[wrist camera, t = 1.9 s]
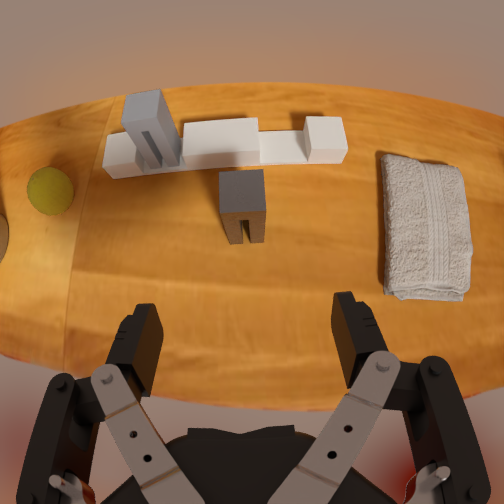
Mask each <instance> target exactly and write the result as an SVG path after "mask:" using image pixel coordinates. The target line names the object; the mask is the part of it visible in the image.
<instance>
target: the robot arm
mask: <svg viewBox="0 0 504 504" xmlns="http://www.w3.org/2000/svg"><path fill="white" fill-rule="evenodd" d="M8 233H9V232H8V225H7V221H6V219H5V217H4V216H3V215H2V214H0V262H1V260H2V258H3V256H4V254H5V251H6V248H7V243H8ZM331 328H332V333H333V336H334V340H335V344H336V347H337V351H338V355H339V359H340V362H341V366H342V370H343V374H344V378H345V382H346V386H347V389H349V388H351V389H350V391H349V392H348V394H345V395H344V397H343V398H342V400H341V401H340V403H339V405H338V406H337V408H336V410H335V411H334V413H333V414H332V416H331V418H330V419H329V421H328V422H327V424H326V425H325V427H324V428H323V430H322V431H321V433H320V434H319V436H318V437H317V438H315V437H313V436H311V435H308V434H306V433H301V432H295V429H294V425H287V426H273V427H266V428H262V429H258V430H255V431H251V432H247V433H243V434H236V433H232V432H227V431H222V430H218V429H213V428H208V429H207V428H188V434H187V435H184V436H181V437H178V438H176V439H173V440H172V441H170V442H168V443H167V444H166V443H165V442H164V441H163V439H162V438H161V436H160V435H159V433H158V431H157V430H156V428H155V427H154V425H153V424H152V422H151V420H150V419H149V417H148V416H147V414H146V412H145V411H144V409H143V407H142V406H141V404H140V401H141V397H150V394H151V390H152V385H153V381H154V376H155V372H156V368H157V363H158V359H159V355H160V351H161V347H162V343H163V327H162V324H161V322H160V319H159V316H158V313H157V310H156V307H155V305H154V304H153V303H148V304H137V305H136V308H135V310H134V313H133V315H127V317H126V318H125V319H124V320H123V321H122V322H121V324H120V326H119V329H118V333H117V334H116V336H115V340H114V342H113V344H112V347H111V349H110V352H109V355H108V358H107V360H106V363H105V365H102V366H100V367H98V368H97V369H96V370H95V371H94V372H93V374H92V376H91V377H87V378H82V379H77V380H75V379H74V378H73V377H72V376H71V375H70V374H68V373H60V374H58V375H56V376H55V377H53V378H52V380H51V381H50V382H49V385H48V387H47V390H46V393H45V396H44V398H43V401H42V404H41V407H40V410H39V413H38V416H37V420H36V423H35V425H34V429H33V432H32V435H31V439H30V442H29V445H28V449H27V453H26V456H25V460H24V464H23V468H22V472H21V476H20V480H19V485H18V489H17V495H16V502H17V504H96V500H95V493H94V491H93V489H92V488H91V487H90V486H89V485H88V484H89V477H90V472H91V465H92V460H93V454H94V449H95V444H96V439H97V434H98V429H99V425H100V422H103V421H106V424H107V426H108V428H109V430H110V432H111V434H112V436H113V438H114V440H115V442H116V444H117V446H118V448H119V450H120V451H121V454H122V455H123V457H124V459H125V461H126V463H127V465H128V466H129V468H130V470H131V471H132V473H133V475H132V476H131V477H130V478H128V479H127V480H126V481H125V482H124V483H123V484H122V485H121V486H120V487H119V488H117V489H116V490H115V491H114V492H113V493H112V494H110V495H109V496H108V497H107V498H106V499H105V500H104V501H102V502H101V503H100V504H397V503H396V502H395V501H394V500H393V499H392V498H391V497H390V496H388V495H387V494H386V493H384V492H383V491H382V490H381V489H379V488H378V487H377V486H375V485H374V484H373V483H372V482H370V481H369V480H368V479H366V478H365V477H364V476H363V475H361V474H360V473H359V472H358V471H357V470H355V469H354V468H353V467H352V464H353V463H354V461H355V459H356V457H357V456H358V454H359V452H360V450H361V449H362V447H363V445H364V443H365V441H366V440H367V438H368V435H369V434H370V432H371V430H372V428H373V426H374V424H375V422H376V420H377V418H378V416H379V414H380V412H381V410H382V409H389V410H400V411H402V413H403V417H404V421H405V425H406V429H407V433H408V437H409V442H410V446H411V450H412V454H413V459H414V465H415V469H416V475H415V476H413V477H412V478H411V479H410V481H409V482H408V484H407V486H406V497H405V500H404V502H403V504H486V503H487V502H488V500H489V498H490V494H491V487H490V482H489V478H488V475H487V471H486V467H485V464H484V460H483V457H482V454H481V450H480V447H479V444H478V441H477V438H476V435H475V432H474V429H473V426H472V423H471V420H470V417H469V414H468V412H467V409H466V406H465V403H464V401H463V398H462V395H461V393H460V390H459V388H458V385H457V383H456V380H455V378H454V375H453V373H452V371H451V368H450V366H449V364H448V363H447V362H446V361H445V360H444V359H443V358H441V357H438V356H428V357H426V358H424V359H423V360H422V361H421V363H420V364H417V363H407V362H402V361H399V359H398V358H397V357H396V356H395V355H394V354H393V353H391V352H389V351H388V348H387V346H386V344H385V341H384V339H383V336H382V334H381V331H380V329H379V327H378V326H377V322H376V320H375V318H374V315H373V313H372V310H371V308H370V307H369V306H368V305H366V304H365V303H364V302H363V301H362V302H356V301H355V298H354V296H353V294H352V292H351V291H347V292H336V293H334V297H333V306H332V314H331Z"/></svg>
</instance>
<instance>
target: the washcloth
mask: <svg viewBox="0 0 504 504" xmlns="http://www.w3.org/2000/svg"><path fill="white" fill-rule="evenodd" d="M380 160H381V167H382V174H381V175H382V178H383V181H382V184H383V192H384V194H383V195H384V196H383V197H384V199H383V201H384V205H383V208H384V222H385V231H386V234H385V245H386V251H385V252H386V253H385V258H386V261H385V276H384V286H383V290H384V295H395V296H396V297H397V298H398V299H400V300H401V301H402V300H404V299H426V300H438V301H439V300H441V301H462V300H463V295H464V292H467V291H468V290H469V287H470V265H471V256H472V254H473V246H472V242H471V234H470V224H469V213H468V205H467V202H466V197H465V189H464V182H463V177H462V175H461V172H460V171H459V169H458V168H457V167H454V166H449V165H442V164H429V163H423V162H422V163H421V162H419V161H418V160H417V159H411V158H408V157H402V156H395V155H390V154H387V155H383V156H382V158H380Z"/></svg>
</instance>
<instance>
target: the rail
mask: <svg viewBox="0 0 504 504" xmlns="http://www.w3.org/2000/svg"><path fill="white" fill-rule="evenodd" d="M121 124H122V125H123V127H124V129H125V130H126V132H122V133H116V134H111V135H108V136H107V141H106V147H105V153H104V159H103V165H102V167H103V168H104V169H105V171H106V172H107V173H108V174H109V175H110V176H111V177H112V178H113V179H119V178H126V177H134V176H142V175H150V174H159V173H168V172H178V171H188V170H199V169H211V168H225V167H240V166H258V165H282V164H341V163H342V161H343V159H344V157H345V155H346V153H347V151H348V146H347V141H346V136H345V132H344V128H343V123H342V119H341V117H318V116H306V119H305V124H304V129H303V131H263V132H258V119H257V118H239V119H224V120H212V121H201V122H192V123H184V134H183V138H180V137H179V135H178V132H177V130H176V127H175V125H174V122H173V120H172V117H171V115H170V112H169V110H168V107H167V105H166V102H165V99H164V97H163V94H162V92H161V89H158V90H152V91H146V92H140V93H135V94H130V95H127V96H126V100H125V105H124V110H123V115H122V120H121Z"/></svg>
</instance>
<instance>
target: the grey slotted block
mask: <svg viewBox="0 0 504 504" xmlns="http://www.w3.org/2000/svg"><path fill="white" fill-rule="evenodd" d="M219 208H220V216H221V219H222V222H223V225H224V228H225V231H226V233H227V236H228V239H229V242H230V244H243V227H242V220H249V229H250V240H251V243H264V233H265V220H266V201H265V188H264V174H263V169H259V170H241V171H225V172H219Z"/></svg>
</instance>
